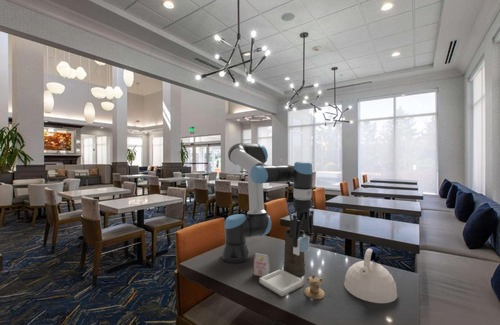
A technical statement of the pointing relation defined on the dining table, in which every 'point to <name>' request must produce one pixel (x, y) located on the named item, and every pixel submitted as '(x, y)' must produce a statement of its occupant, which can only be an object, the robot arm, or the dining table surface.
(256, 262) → the white cardboard box
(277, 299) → the dining table surface
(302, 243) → the ball
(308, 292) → the stand
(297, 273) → the beer stein
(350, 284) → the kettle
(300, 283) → the tray
